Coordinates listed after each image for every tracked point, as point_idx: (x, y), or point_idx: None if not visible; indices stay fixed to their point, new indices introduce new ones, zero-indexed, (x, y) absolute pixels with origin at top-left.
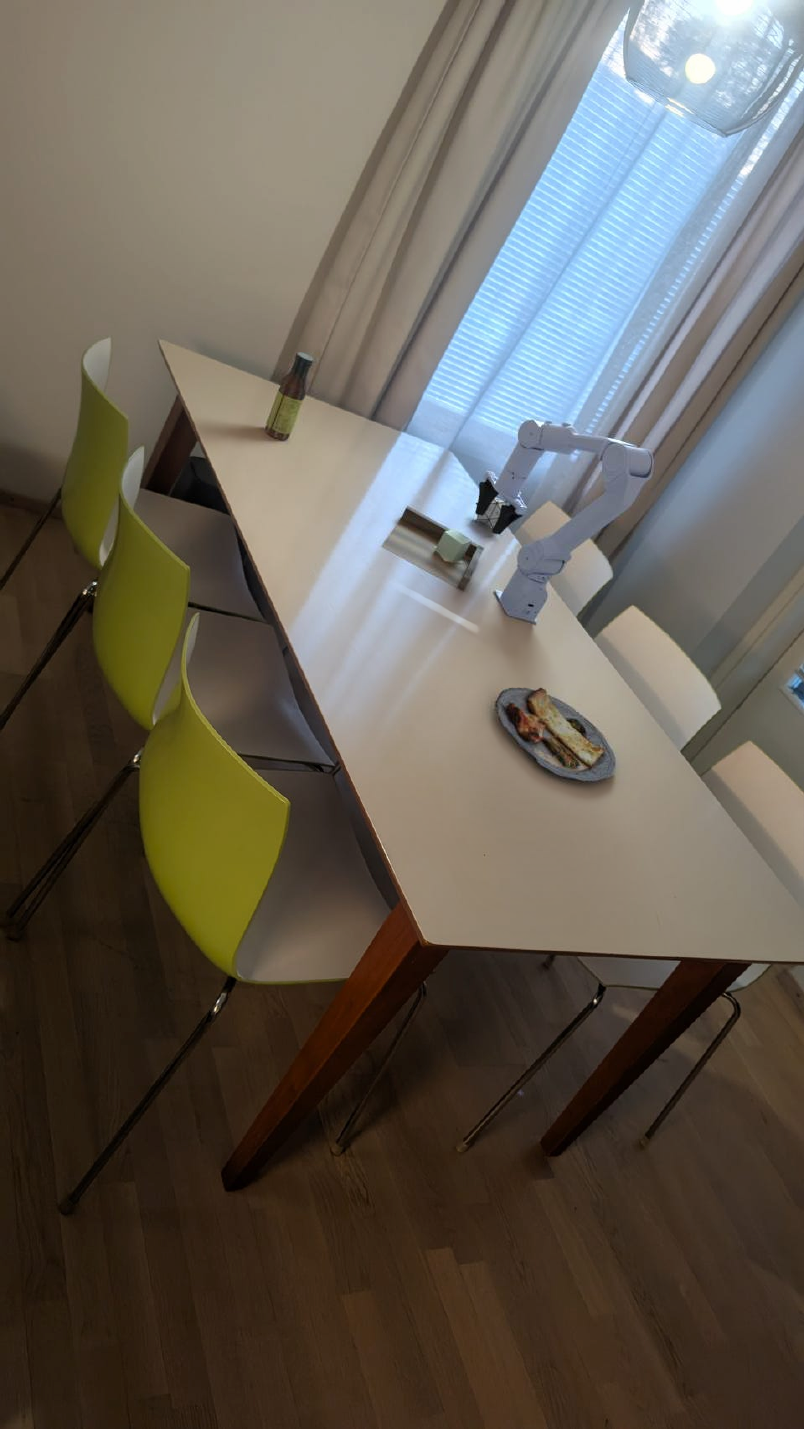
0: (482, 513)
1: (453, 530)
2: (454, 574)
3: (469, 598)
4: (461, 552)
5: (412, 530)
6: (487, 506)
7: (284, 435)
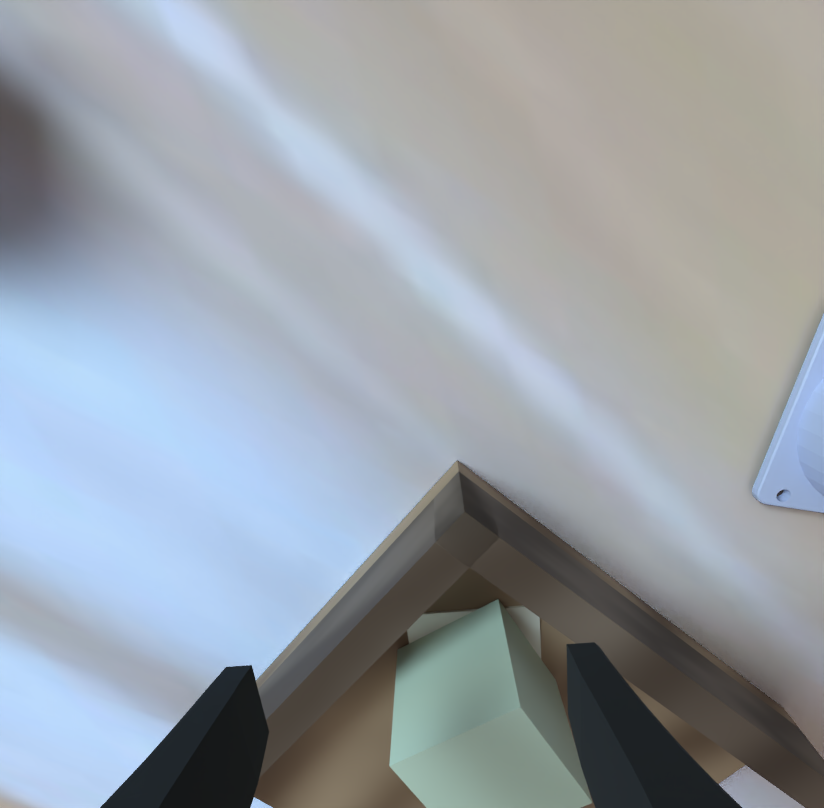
0: (247, 696)
1: (425, 788)
2: (656, 708)
3: (808, 675)
4: (541, 690)
5: (304, 759)
6: (198, 768)
7: None
